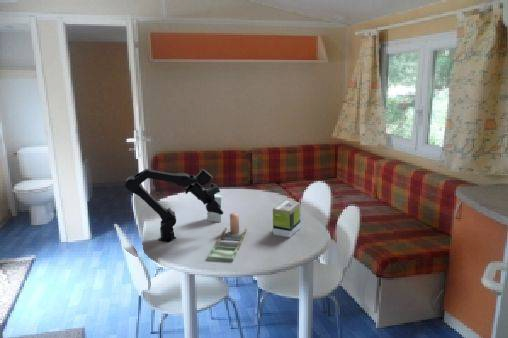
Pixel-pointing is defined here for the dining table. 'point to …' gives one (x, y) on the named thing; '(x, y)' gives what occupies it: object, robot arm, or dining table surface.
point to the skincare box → (215, 216)
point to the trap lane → (226, 247)
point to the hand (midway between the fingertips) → (221, 210)
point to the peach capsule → (234, 223)
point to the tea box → (286, 218)
